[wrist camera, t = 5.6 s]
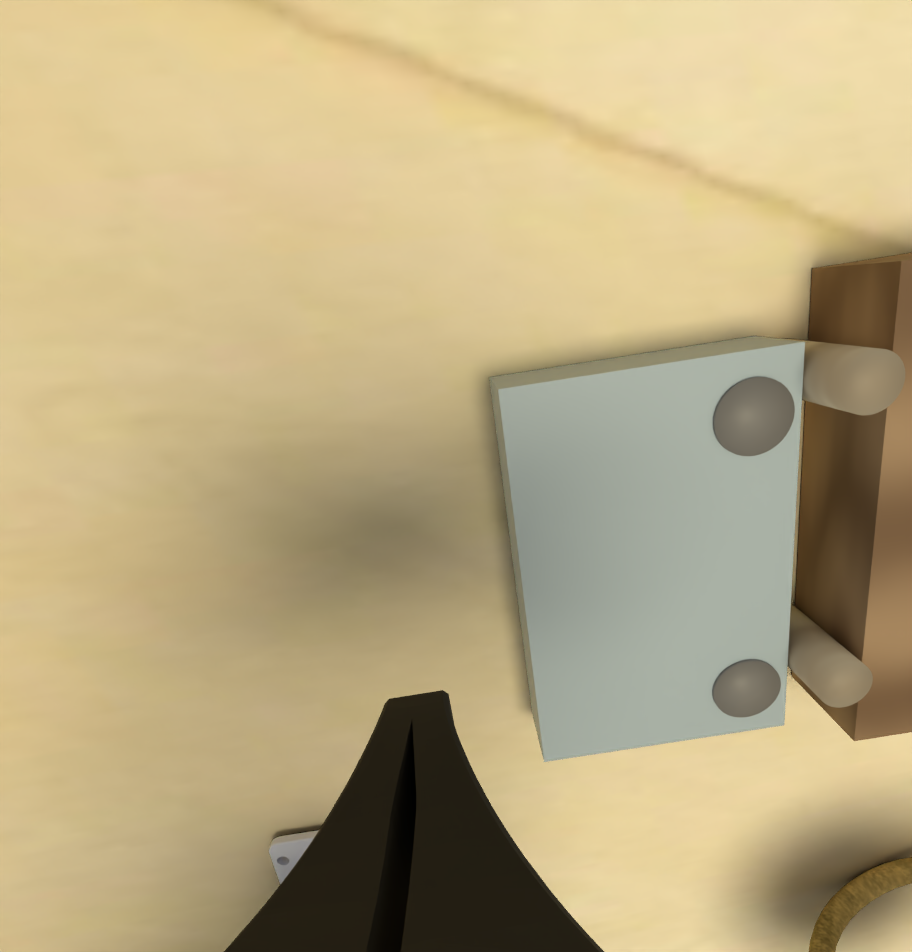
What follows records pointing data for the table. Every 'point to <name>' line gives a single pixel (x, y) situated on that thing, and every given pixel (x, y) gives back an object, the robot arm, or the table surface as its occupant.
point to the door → (653, 540)
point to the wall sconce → (857, 901)
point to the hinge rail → (857, 499)
